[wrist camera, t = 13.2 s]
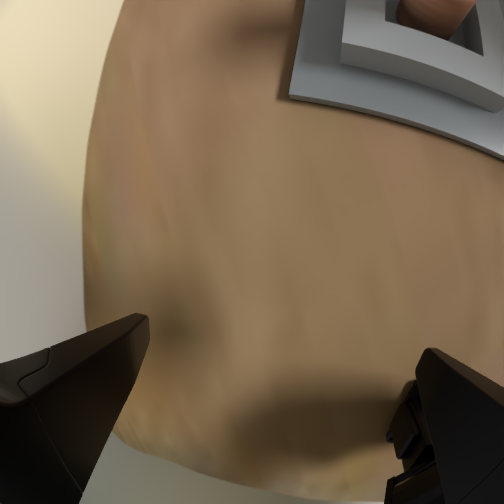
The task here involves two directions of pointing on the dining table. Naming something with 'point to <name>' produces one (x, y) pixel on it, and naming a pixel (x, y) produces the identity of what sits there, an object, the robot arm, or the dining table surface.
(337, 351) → the dining table surface
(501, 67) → the socket block
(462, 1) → the peg
